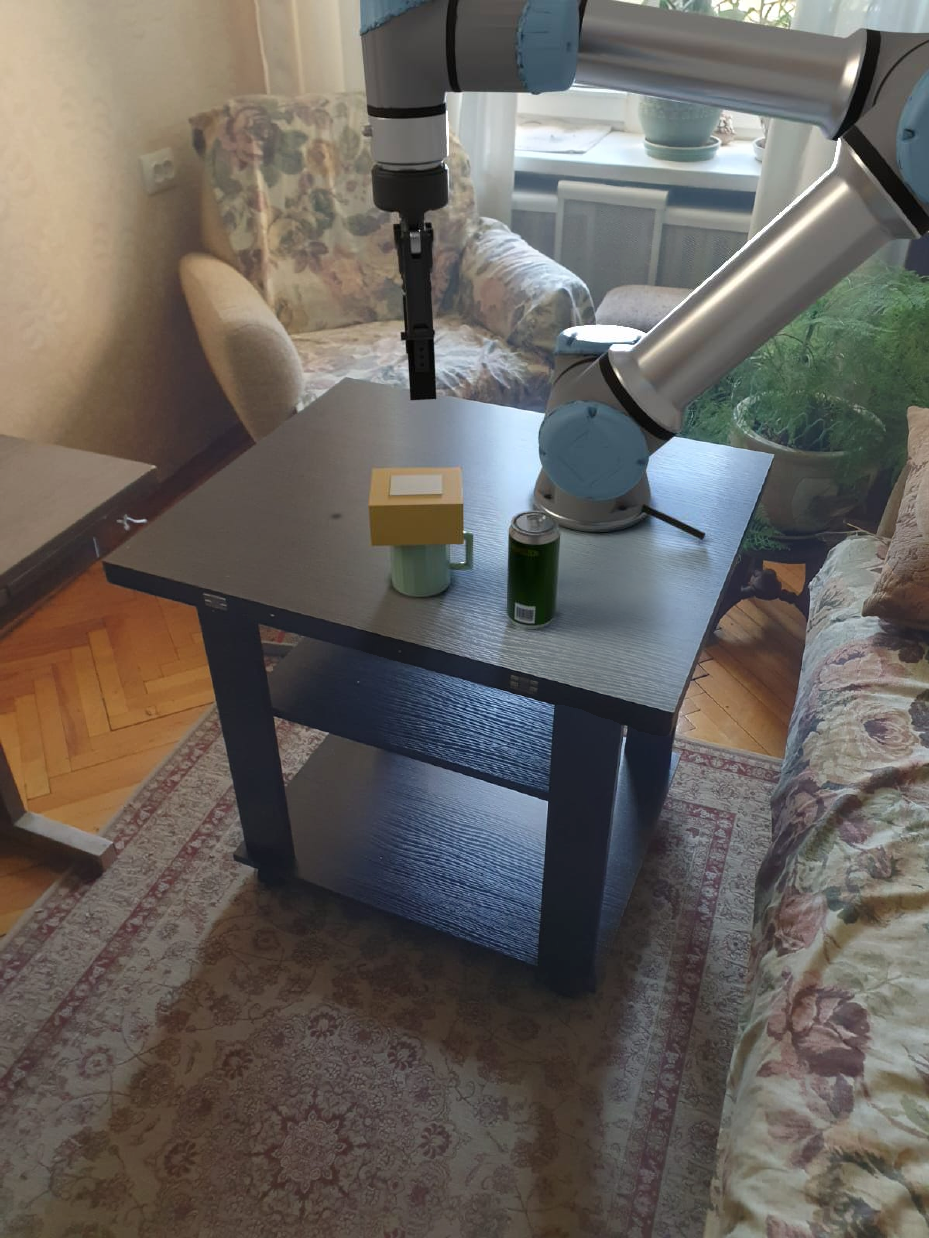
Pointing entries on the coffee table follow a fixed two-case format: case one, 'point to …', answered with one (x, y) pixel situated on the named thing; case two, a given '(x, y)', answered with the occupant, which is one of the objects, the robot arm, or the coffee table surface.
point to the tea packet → (416, 506)
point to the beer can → (532, 569)
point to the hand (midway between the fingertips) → (420, 374)
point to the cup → (426, 567)
